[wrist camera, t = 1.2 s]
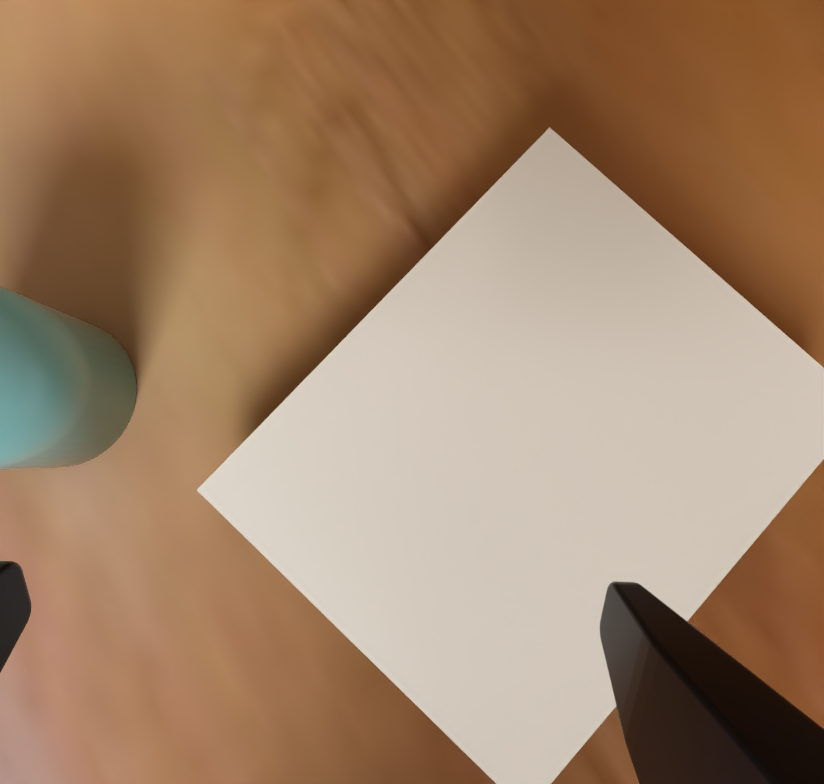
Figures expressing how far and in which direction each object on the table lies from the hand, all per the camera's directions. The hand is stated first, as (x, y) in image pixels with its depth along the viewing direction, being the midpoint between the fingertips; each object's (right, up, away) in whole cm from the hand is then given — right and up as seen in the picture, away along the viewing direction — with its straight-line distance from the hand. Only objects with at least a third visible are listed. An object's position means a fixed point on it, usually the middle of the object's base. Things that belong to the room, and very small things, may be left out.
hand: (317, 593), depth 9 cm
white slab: (+6, +1, +14) cm, 15 cm away
